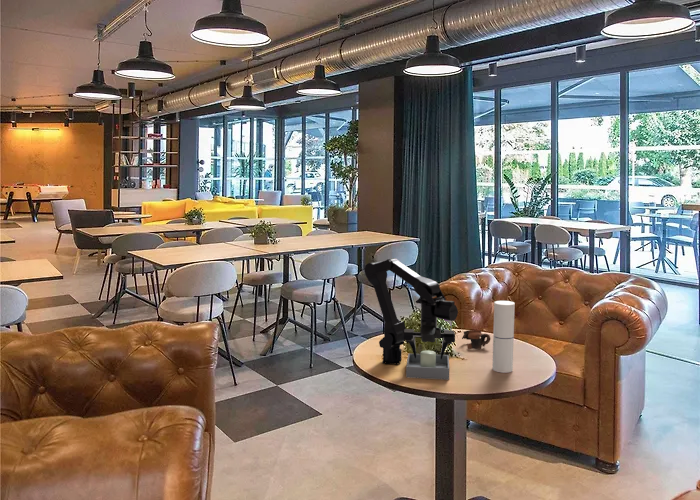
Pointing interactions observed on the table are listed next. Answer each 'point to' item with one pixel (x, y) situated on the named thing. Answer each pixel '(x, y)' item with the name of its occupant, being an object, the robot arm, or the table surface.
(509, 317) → the cylindrical container
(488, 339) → the pottery mug
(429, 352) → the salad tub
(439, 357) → the bin
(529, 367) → the table surface
